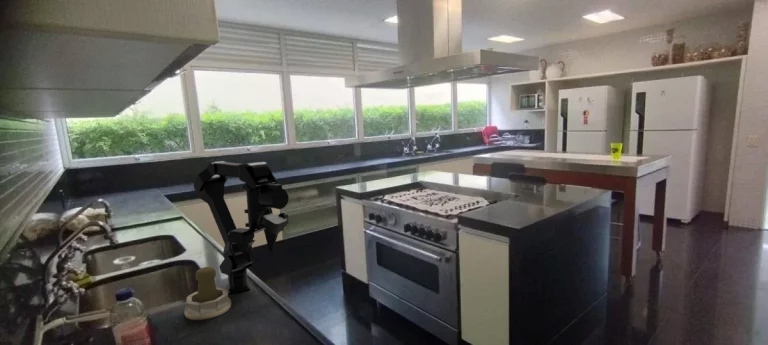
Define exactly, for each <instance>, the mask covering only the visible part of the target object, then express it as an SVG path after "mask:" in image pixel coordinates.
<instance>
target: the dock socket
mask: <svg viewBox="0 0 768 345" xmlns="http://www.w3.org/2000/svg"><path fill="white" fill-rule="evenodd" d="M216 289H217V293H218V297H219V298H217V299H215V300H212V301H208V302H203V303H199V302H197V293H198V290H197V291H195V292H193V293H191V294H189V295H187V297H186V306H185V308H184V311H183V312H184V316H185V318H186V319H188V320H193V321H202V320H209V319H213V318H217V317H219V316H221V315H223V314H225V313H226V312H228V311H229V310H230V309H231V307H232V299H231V298H230V297H229V294H228V290H227V287H225V288H224V287H219V286H216Z"/></svg>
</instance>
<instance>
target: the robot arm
mask: <svg viewBox="0 0 768 345" xmlns="http://www.w3.org/2000/svg"><path fill="white" fill-rule="evenodd" d="M227 177H234V178H238V179H239V181H241V182H243V183H244V184H243V185H242V186H241V189H242V190H245V191H246V205H247V206H246V209H244V210H243V211H244V214H247V220H248V222H245V223H244V224H245V226H244V227H245V228H242V227H238V228H237V226H236V224H235V221H234V219H233V216H232V214H231V212H230V209H229V207H228V205H227V203H226V200H225V197H224V196H225V194H226V186H225V185H226V183H227V181H228V178H227ZM193 182H194V183H193V188H194V190H195V191H194V192H196V194H197V196H198V198H199V199H200V200H202V201H203V202H205V203H206V204H207V205H208V207H209V209H210V212H211V214H212V216H213V219H214V222H215V224H216V226H217V229H218V232H219V233H220V235H221V238H222V241H223V243H224V247H223V253H222V256H223V260H222V262H221V263H220V264H219V270H220V271H219V272H220V273H221V274H223V275H226V276H227V282H228V283H227V285H226V289H227V292H228V295H230V294H231V295H232V294H235V293H236V294H237V293H241V292H244V291H250V290H251V287H250V284H249V281H248V269H250V268H253V266H254V263H255V257H256V254H255V249H254V248H253V245H254V243H255V242H256V240H255V239H254V238H255V234H258V233H260V232H264V236H265V240H266V246H267V248H268V251H269V252H271V253H272V252H274V248H275V245H276V242H277V239H278V237H279V236H278V235H279V234H280V233H281V232H283V231H284V230H285V227H287V225H288V224H289V222H290V221H289V214H288V212H285V211H282V212H280V213H279V214H278V213H276V214H275V213H273V209H277V210H282V209H284V208H286V206H287V204H288V202H289V194H288V192H287V191H286V190H285V189H284V188H283V184H280V183H278V181H277V179H276V177H275V176H274V174H273V172H272V170H271V168H270V167H269V166H268V163H267V162H266V161H255V162H248V163H237V162H231V161H230V162H229V161H224V160H219V161H212V162H210V163H208V165H207V167H206V168H205V169H204V170H202V171H201V172H200V173H199V174H198V175H197V176H196V177H195V180H194V181H193Z"/></svg>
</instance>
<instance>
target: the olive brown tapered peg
mask: <svg viewBox="0 0 768 345" xmlns="http://www.w3.org/2000/svg"><path fill="white" fill-rule="evenodd" d="M216 271H217V270H216V269H215V268H214V267H212V266H205V267H201V268H199V269H197V271H195V277H194V278H195V280H196V281H197V291H198V293H197V302H199V303H203V302H208V301H212V300H215V299H217V298H219V297H218V293H217V289H216V287H217V284H216V281H215V278H216V275H217V273H216Z"/></svg>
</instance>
